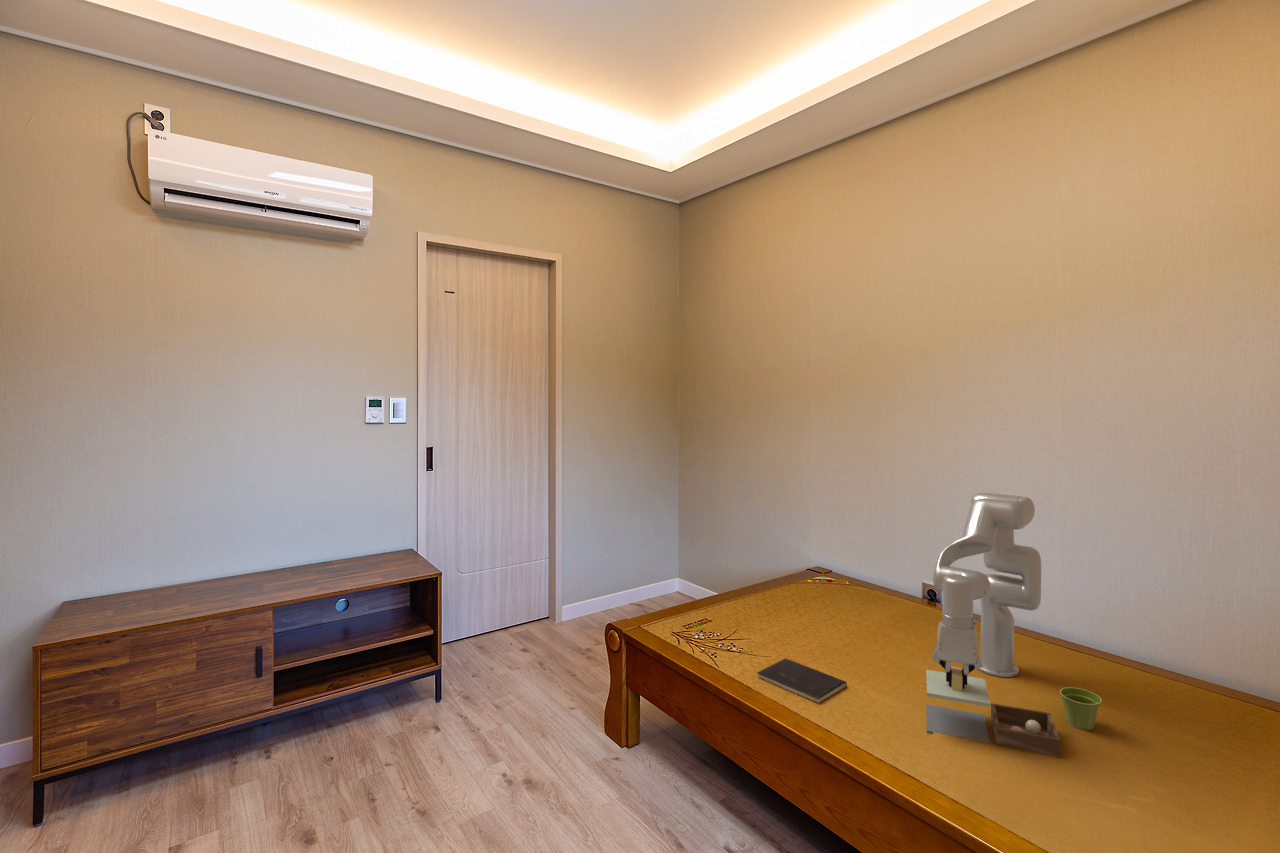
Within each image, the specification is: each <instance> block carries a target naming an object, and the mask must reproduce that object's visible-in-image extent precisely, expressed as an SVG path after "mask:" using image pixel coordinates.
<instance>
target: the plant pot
mask: <svg viewBox="0 0 1280 853" xmlns="http://www.w3.org/2000/svg"><path fill="white" fill-rule="evenodd" d="M1059 694H1060V696H1061V699H1062V701H1063V708H1064V713H1065V721H1066V723H1067V724H1068V725H1070V726H1071V727H1073V728H1076V729H1079V730H1083V731H1084V730H1085V731H1090V730H1091V731H1092V730H1094V728H1095V724H1096V718H1097V714H1098V710H1099V707H1100V705H1101V704H1102V702H1103V700H1102V697H1101V696H1100V695H1098V694H1096V693H1095V692H1093V691H1089V690H1087V689H1083V688H1079V687H1071V686H1070V687H1069V686H1067V687H1062V688H1061V689H1059Z"/></svg>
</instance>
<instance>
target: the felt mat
mask: <svg viewBox="0 0 1280 853" xmlns="http://www.w3.org/2000/svg"><path fill="white" fill-rule="evenodd" d="M925 705H926V708H925V709H926V712H925V714H926V733H927V734H934V733H938V734H943V735H947V736H948V735H949V736H954V737H957V738H958V737H959V738H962V739H963V738H965V739H969V740H974V741H980V742H983V743H988V744H989V743H990V738H989V736H990V735H989V731H988V728H987V722H986V717H985V716H986V715H985V714H984V713H979V712H972V711H967V710H963V709H962V710H961V709H956V708H951V707H946V706H945V707H943V706H940V705H932V704H928V703H927V704H925Z"/></svg>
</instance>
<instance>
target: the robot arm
mask: <svg viewBox="0 0 1280 853" xmlns="http://www.w3.org/2000/svg"><path fill="white" fill-rule="evenodd" d="M970 502H971V504H970V507H969V511H968V515H967V518H966V520H965V525H964V529H963V532H962V535H961V536H960V537H959V538H957V539H956V540H954V541H952V542H951V543H949V544H948V545H946V547H945V548H943V549H942V550H941V552H940V554H939V555H938V557H937V561H936V564H935V567H934V570H933V575H932V576H933V577H932V583H933V586H934V588H936V590H937V591H940V592H942V610H941V611H942V612H941V613H942V617H941V618H942V619H941V620H940V621H939V623H938V627H937V633H936V648H935V650H934V651H933V654H932V655H931V660H932V661H934V662H936V663H938V664H939V665H940V666H941V667H942V668H943V669H944V670H945V673H946V682H949V686H950V687H951V686H952V670H951V666H952V663H955V664H956V663H957V664H962V666H963V667H962V668H961V671H962V689H965V685H967V676H969V675H970V673H971V672H973V671H974V670H977V669H978V670H980V671H981V672H983V673H985V674H989V675H991V676H994V677H1000V678H1001V677H1003V678H1011V677H1013V678H1014V677H1015V676H1017V675H1019V672H1020V670H1019V667H1018V666H1017V664H1014V659H1015V658H1014V656H1015V655H1014V654H1015V652H1014V650H1015V649H1014V648H1015V647H1014V646H1015V618H1014V615H1013V613H1012V611H1011V610H1010V608H1014V609H1020V610H1026V611H1030V612H1031V611H1036V610H1038V609H1039V608H1040V606H1041V600H1042V558H1041V554H1040V552H1039V551H1038V550H1037V549H1036V548H1034V547H1031V546H1026V545H1021V544H1020V545H1019V544H1015V539H1014V538H1015V537H1014V536H1015V530H1017V531H1018V530H1021V529H1024V528H1025V527H1027V525H1029V524H1030V523H1031V522H1032V521H1033V519H1034V516H1035V513H1036V512H1035V504H1034V501H1033V500H1032V499H1031V498H1029V497H1028V496H1020V495H1010V494H1000V493H991V492H980V493H975V494H974V495H973V496H972V497H971V501H970ZM980 554H983V562H984V566H985V567H986V568H987V569H988V570H990V571H994V572H997V573H1003V575H1002V574H996V573H986V574H985V573H983V572H980V571H976V570H971V569H966V568H961V567H960V568H959V567H954V566H952V564H953V563H954V562H956V561H957V560H960V559H963V558H967V557H971V556H976V555H980ZM1004 574H1009V575H1014V576H1020V577H1022V578H1018V577H1013V576H1009V575H1004ZM976 600H980V619H979V618H976V617H974V601H976ZM1009 607H1010V608H1009ZM979 624H980V654H979V647H978V646H979V644H978V643H979V642H978V633H977V628H976V626H975V625H979Z"/></svg>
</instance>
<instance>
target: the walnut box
mask: <svg viewBox="0 0 1280 853" xmlns="http://www.w3.org/2000/svg"><path fill="white" fill-rule="evenodd" d="M1028 720H1035V721H1037V722H1038V723H1039V724H1040V726H1041V732H1040V733H1039V734H1032V733H1029V732H1028V731H1027V730H1026V727H1025V724H1026V722H1027V721H1028ZM990 721H991V727H992V730H993V735H994V739H995V740H994V741H995V745H996V746H998V747H999V746H1000V747H1005V748H1011V749H1015V750H1020V751H1027V752H1031V753H1036V754H1041V755H1047V756H1050V757H1051V756H1052V757H1056V758H1061V749H1062V746H1061V743H1062V742H1061V738H1060V735H1059V733H1058V730H1057V728H1056V725H1055V722H1054V719H1053V717H1052V714H1051V712H1046V711H1040V710H1035V709H1028V708H1022V707H1016V706H1011V705H1006V704H1004V705H1003V704H1000V703H993V702H992V703H991V702H990ZM1011 726H1018V727H1020V728H1021V729H1022V730H1023V731H1024V732H1021V731H1016V730H1010V729H1009V728H1010V727H1011Z"/></svg>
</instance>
